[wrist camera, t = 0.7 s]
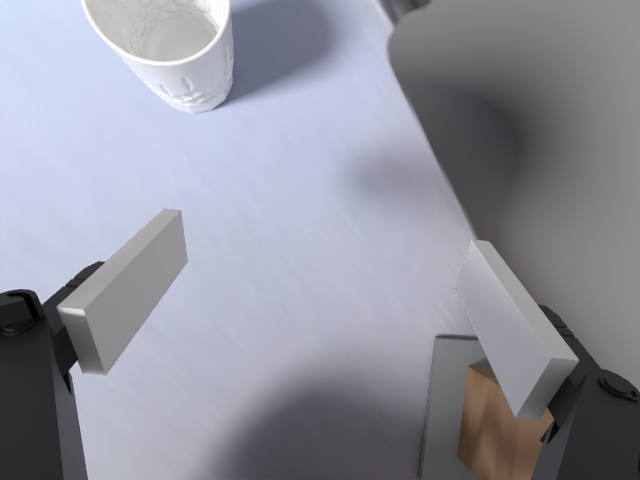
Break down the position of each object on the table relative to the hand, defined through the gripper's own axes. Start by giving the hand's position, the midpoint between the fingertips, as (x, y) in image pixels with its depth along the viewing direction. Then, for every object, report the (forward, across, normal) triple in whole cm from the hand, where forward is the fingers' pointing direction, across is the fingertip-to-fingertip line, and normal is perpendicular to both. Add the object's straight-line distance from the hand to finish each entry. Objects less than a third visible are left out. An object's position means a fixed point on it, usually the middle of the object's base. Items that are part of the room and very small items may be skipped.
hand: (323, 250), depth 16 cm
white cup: (+18, +12, -5) cm, 23 cm away
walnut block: (+9, -19, +22) cm, 30 cm away
